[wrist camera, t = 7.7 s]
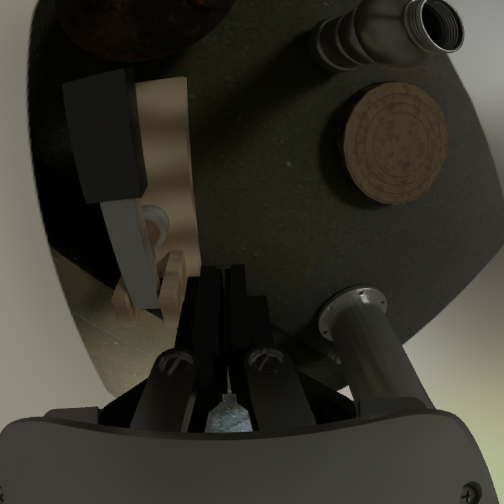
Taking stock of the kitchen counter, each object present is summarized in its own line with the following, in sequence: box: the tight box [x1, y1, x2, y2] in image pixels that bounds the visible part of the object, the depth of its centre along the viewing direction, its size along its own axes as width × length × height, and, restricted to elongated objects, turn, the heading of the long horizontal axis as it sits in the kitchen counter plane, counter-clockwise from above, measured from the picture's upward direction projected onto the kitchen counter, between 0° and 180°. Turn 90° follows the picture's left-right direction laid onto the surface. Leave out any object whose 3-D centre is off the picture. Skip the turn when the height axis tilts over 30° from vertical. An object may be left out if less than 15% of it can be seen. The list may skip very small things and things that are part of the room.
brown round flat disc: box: [336, 81, 449, 205], centre depth 32 cm, size 16×16×3 cm
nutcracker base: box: [111, 77, 201, 328], centre depth 29 cm, size 24×10×12 cm, turn 0°
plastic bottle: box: [308, 0, 464, 73], centre depth 18 cm, size 6×7×20 cm
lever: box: [62, 67, 161, 309], centre depth 24 cm, size 23×5×3 cm, turn 1°
